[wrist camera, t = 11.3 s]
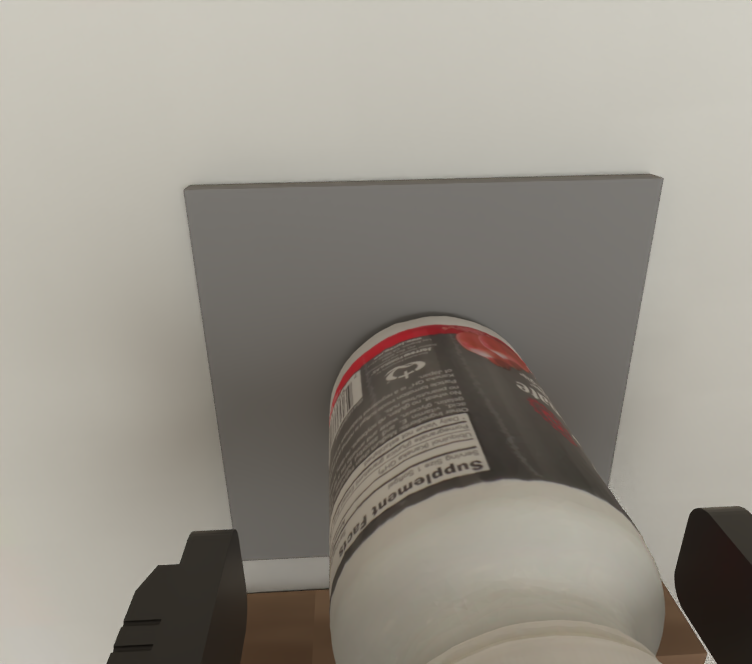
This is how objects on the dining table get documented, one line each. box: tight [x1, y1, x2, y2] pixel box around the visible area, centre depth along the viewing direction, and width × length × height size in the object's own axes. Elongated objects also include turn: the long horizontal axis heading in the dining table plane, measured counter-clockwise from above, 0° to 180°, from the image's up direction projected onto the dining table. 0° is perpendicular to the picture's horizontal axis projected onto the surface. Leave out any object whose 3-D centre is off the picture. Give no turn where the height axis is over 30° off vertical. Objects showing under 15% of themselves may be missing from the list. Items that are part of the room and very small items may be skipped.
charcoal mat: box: [184, 174, 664, 561], centre depth 16 cm, size 11×11×1 cm
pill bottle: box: [329, 316, 665, 664], centre depth 11 cm, size 5×5×10 cm
